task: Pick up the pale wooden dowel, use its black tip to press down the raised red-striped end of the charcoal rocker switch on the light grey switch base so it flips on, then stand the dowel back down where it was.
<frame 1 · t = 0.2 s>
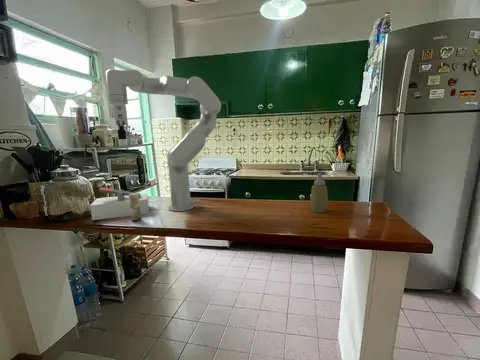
hand: (122, 139, 111), 36 cm above the countertop, tool pointing down, fingers open, 9 cm apart
dowel: (136, 220, 109), on the countertop
rocker: (120, 192, 119), point 10 cm above the countertop, hinge at -15.0°
circuit breaker: (64, 214, 122), on the countertop
switch base: (122, 212, 121), on the countertop
squeeze bottle: (318, 211, 114), on the countertop
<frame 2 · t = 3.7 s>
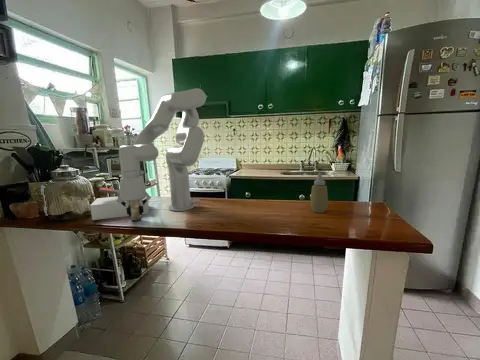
hand: (135, 214, 108), 3 cm above the countertop, tool pointing down, fingers closed on dowel, 4 cm apart
dowel: (136, 220, 109), on the countertop, touching gripper
everything else where it was.
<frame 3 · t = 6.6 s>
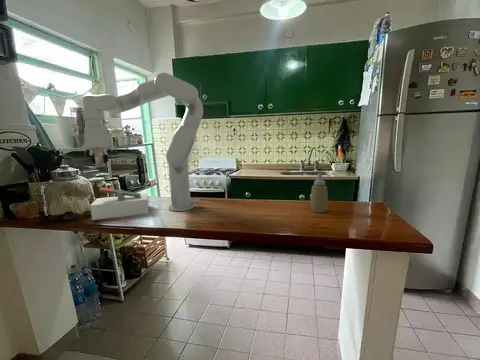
hand: (100, 163, 114), 25 cm above the countertop, tool pointing down, fingers closed on dowel, 4 cm apart
dowel: (100, 168, 115), point 22 cm above the countertop, touching gripper
everything else where it was.
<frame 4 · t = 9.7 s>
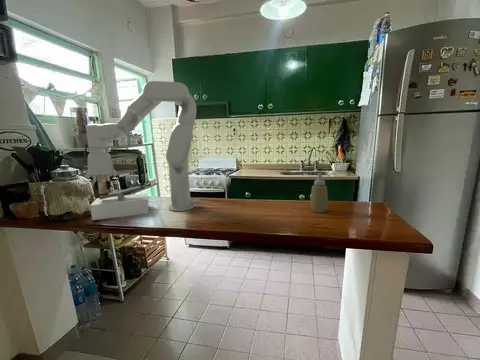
hand: (103, 189, 117), 13 cm above the countertop, tool pointing down, fingers closed on dowel, 4 cm apart
dowel: (103, 194, 117), point 10 cm above the countertop, touching gripper
rocker: (120, 192, 119), point 10 cm above the countertop, hinge at 10.1°
everything else where it was.
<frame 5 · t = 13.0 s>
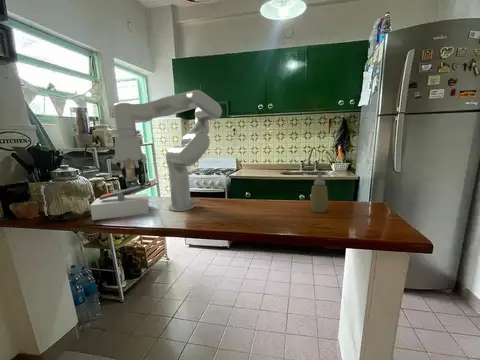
hand: (131, 176, 105), 20 cm above the countertop, tool pointing down, fingers closed on dowel, 4 cm apart
dowel: (131, 182, 105), point 17 cm above the countertop, touching gripper
rocker: (120, 192, 119), point 10 cm above the countertop, hinge at 10.8°
everything else where it was.
when the fingers open (4 cm above the countertop, at t = 16.0 s): dowel drops 2 cm, on the countertop.
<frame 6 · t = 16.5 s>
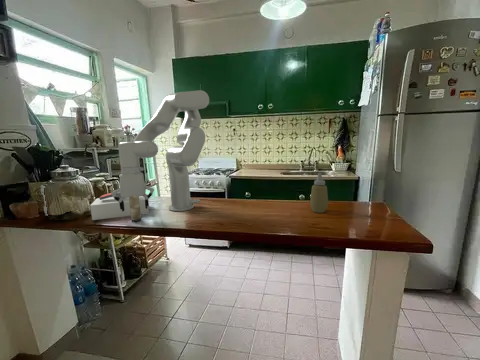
hand: (135, 209, 108), 5 cm above the countertop, tool pointing down, fingers open, 9 cm apart
dowel: (136, 220, 108), on the countertop
everything else where it was.
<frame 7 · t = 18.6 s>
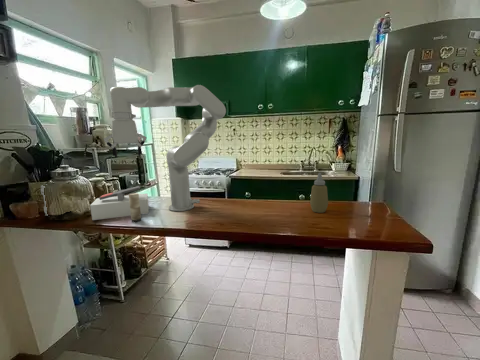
hand: (128, 156, 110), 28 cm above the countertop, tool pointing down, fingers open, 9 cm apart
nothing on the countertop moved.
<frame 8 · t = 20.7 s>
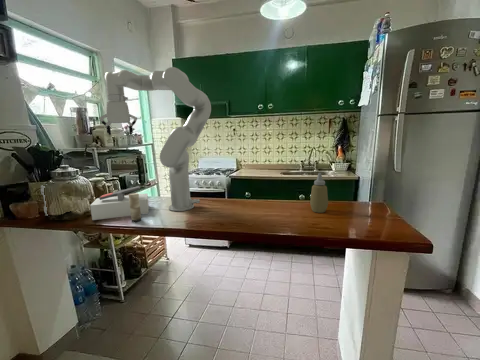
hand: (120, 134, 124), 38 cm above the countertop, tool pointing down, fingers open, 9 cm apart
nothing on the countertop moved.
at the end: rocker at +11° (first picture: -15°); dowel tilted 0°; the gripper is holding nothing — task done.
